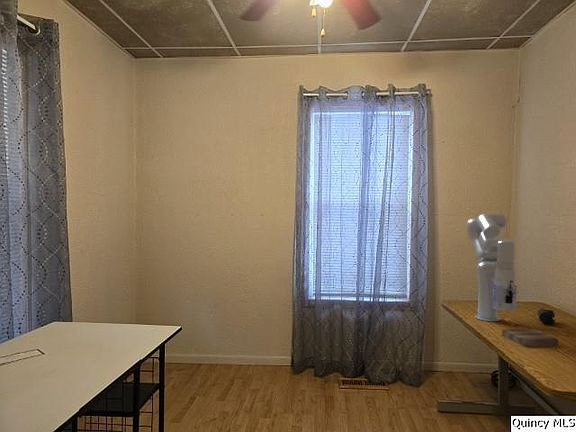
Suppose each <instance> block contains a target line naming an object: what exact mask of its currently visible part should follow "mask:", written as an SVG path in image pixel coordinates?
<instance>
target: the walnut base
mask: <svg viewBox="0 0 576 432" xmlns="http://www.w3.org/2000/svg"><path fill="white" fill-rule="evenodd" d="M502 337H505V338H507V339H509V340H511V341H513V342H514V343H517V344H518V345H520V346H523V347H546V346H547V347H549V346H550V347H553V346H554V347H555V346H559V338H557V337H555V336H552V335H550V334H547V333H545V332H543V331H540V330H537V329H535V328H511V329H510V328H508V329H507V328H505V329H502Z"/></svg>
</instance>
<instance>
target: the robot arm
mask: <svg viewBox="0 0 576 432" xmlns="http://www.w3.org/2000/svg"><path fill="white" fill-rule="evenodd" d="M506 226H507V217H506V216H505V215H504V214H502V213H482V214H480V215H479V216H478V217H477V218H476V217H475V218H470V219H469V220H468V221H467V222H466V226H465V227H466V233H467V236H468V238H469V240H470V241H471V244H472V245H473V249H474V255H475V257H476V260H477V262H479V263H478V264H477V266H476V275H477V280H478V281H477V283H478V284H477V285H478V290H477V291H478V295H477V296H478V298H477V299H478V301H477V302H478V303H477V304H478V305H477V309H476V312H477V314H475V316H474V318H475V319H477V320H479V321H485V322H499V321H501V317H500V316H499V315H498V310H495V309H494V308H493V284H498V285H501V286H502V289H504V290H506V294H507V295H506V303H512V300H513V294H514V292H515V291H516V288H515V286H516V283H515V282H516V281H515V270H514V269H515V242H514V241H512V240H510V239H509V238H497V237H498V236H499V235H500V234H501V231H502V230H503V229H505V227H506ZM508 288H510V289H508ZM508 290H510V291H509V292H508Z"/></svg>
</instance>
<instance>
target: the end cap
mask: <svg viewBox="0 0 576 432" xmlns="http://www.w3.org/2000/svg"><path fill="white" fill-rule="evenodd" d="M537 316H538V319H539V321H540V322H541V323H542V324H543V325H546V326H555V321H556V320H555V319H554V318H555V316H556V315H555V312H554V310H551V309H545V308H543V307H542V308H540V309H538V310H537Z"/></svg>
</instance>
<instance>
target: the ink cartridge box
mask: <svg viewBox="0 0 576 432" xmlns="http://www.w3.org/2000/svg"><path fill="white" fill-rule="evenodd" d="M515 288H516V291H515V292H514V294H513V300H512V303H506V295H507V294H506V290H504V289H502V286H501V285H498V284H493V308H494V309H495V310H497V311H515V312H516V311H517V294H518V293H517V288H518V287H517V285H515ZM508 289H510V288H508ZM509 291H510V290H508V292H509Z"/></svg>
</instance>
